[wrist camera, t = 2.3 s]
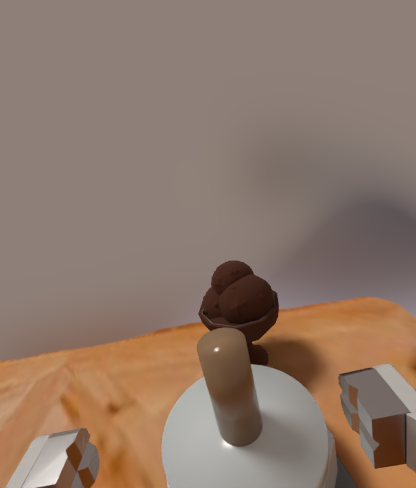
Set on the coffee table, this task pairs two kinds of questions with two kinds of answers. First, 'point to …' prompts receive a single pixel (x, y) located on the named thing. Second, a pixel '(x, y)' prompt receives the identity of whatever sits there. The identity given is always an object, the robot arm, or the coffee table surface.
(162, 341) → the coffee table surface
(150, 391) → the coffee table surface
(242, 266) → the ice cream bowl
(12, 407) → the coffee table surface
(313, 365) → the coffee table surface
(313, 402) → the hexagonal peg stand
